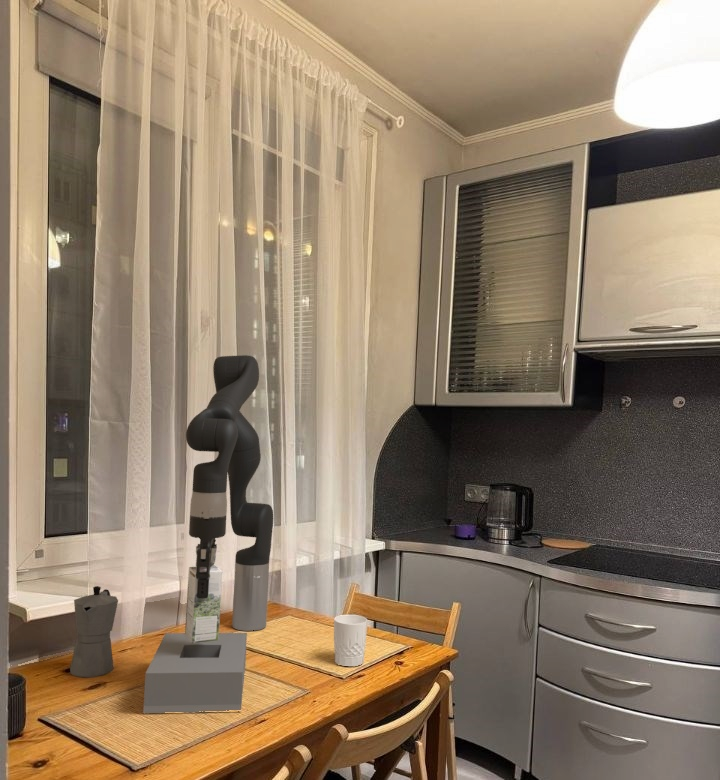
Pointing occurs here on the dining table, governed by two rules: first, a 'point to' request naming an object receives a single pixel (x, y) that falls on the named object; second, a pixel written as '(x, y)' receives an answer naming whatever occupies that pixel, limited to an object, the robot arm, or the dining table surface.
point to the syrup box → (203, 608)
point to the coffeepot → (93, 634)
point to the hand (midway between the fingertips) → (204, 593)
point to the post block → (196, 674)
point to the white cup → (349, 639)
